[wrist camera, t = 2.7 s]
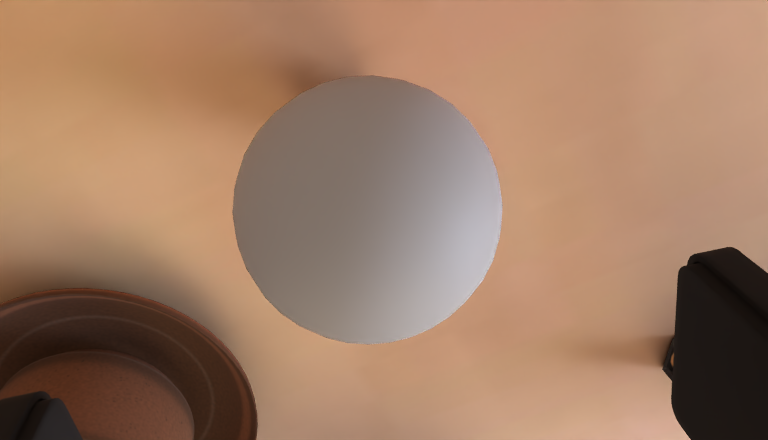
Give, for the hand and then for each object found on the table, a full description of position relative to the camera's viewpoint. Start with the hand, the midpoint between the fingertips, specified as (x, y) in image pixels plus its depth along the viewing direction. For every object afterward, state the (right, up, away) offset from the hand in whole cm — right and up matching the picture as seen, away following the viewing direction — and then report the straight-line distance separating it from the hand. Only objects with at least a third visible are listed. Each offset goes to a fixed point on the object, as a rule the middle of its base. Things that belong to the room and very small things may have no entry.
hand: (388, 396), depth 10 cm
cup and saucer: (-11, -4, +17) cm, 20 cm away
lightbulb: (-1, +7, +12) cm, 14 cm away
